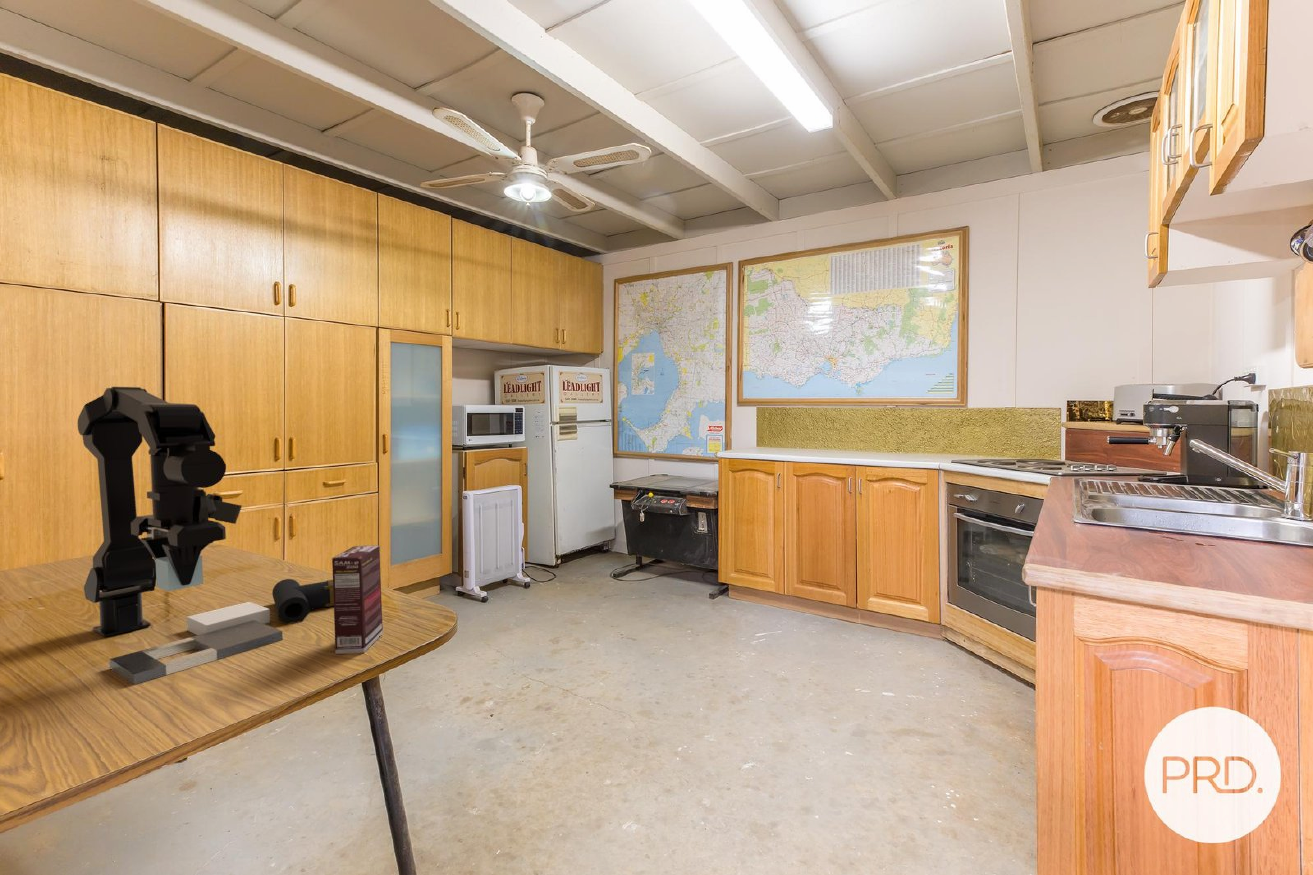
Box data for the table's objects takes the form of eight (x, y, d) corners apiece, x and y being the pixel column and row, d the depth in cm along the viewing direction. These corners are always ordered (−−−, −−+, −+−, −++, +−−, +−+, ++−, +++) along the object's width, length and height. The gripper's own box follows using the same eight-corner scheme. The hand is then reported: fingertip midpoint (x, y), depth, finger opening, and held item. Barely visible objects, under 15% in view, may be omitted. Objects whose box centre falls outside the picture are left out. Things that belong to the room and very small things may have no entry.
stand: (187, 630, 107) (186, 616, 107) (249, 614, 115) (249, 601, 115) (206, 639, 103) (206, 625, 103) (270, 622, 111) (269, 609, 111)
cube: (156, 587, 94) (155, 558, 94) (190, 580, 98) (189, 552, 97) (168, 591, 91) (167, 562, 91) (203, 584, 95) (202, 556, 95)
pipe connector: (335, 570, 128) (347, 587, 116) (336, 595, 129) (348, 613, 117) (271, 580, 122) (277, 599, 110) (273, 606, 122) (278, 627, 110)
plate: (109, 668, 91) (109, 659, 91) (254, 628, 108) (254, 620, 108) (134, 684, 86) (133, 674, 86) (282, 639, 103) (282, 631, 103)
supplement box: (355, 635, 105) (353, 545, 104) (383, 634, 105) (381, 544, 105) (332, 655, 96) (330, 557, 96) (364, 654, 97) (361, 556, 96)
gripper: (260, 482, 96) (264, 578, 96) (208, 476, 106) (211, 563, 106) (176, 490, 86) (181, 597, 87) (127, 482, 96) (131, 579, 97)
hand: (179, 582), depth 94 cm, fingers closed on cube, 4 cm apart
